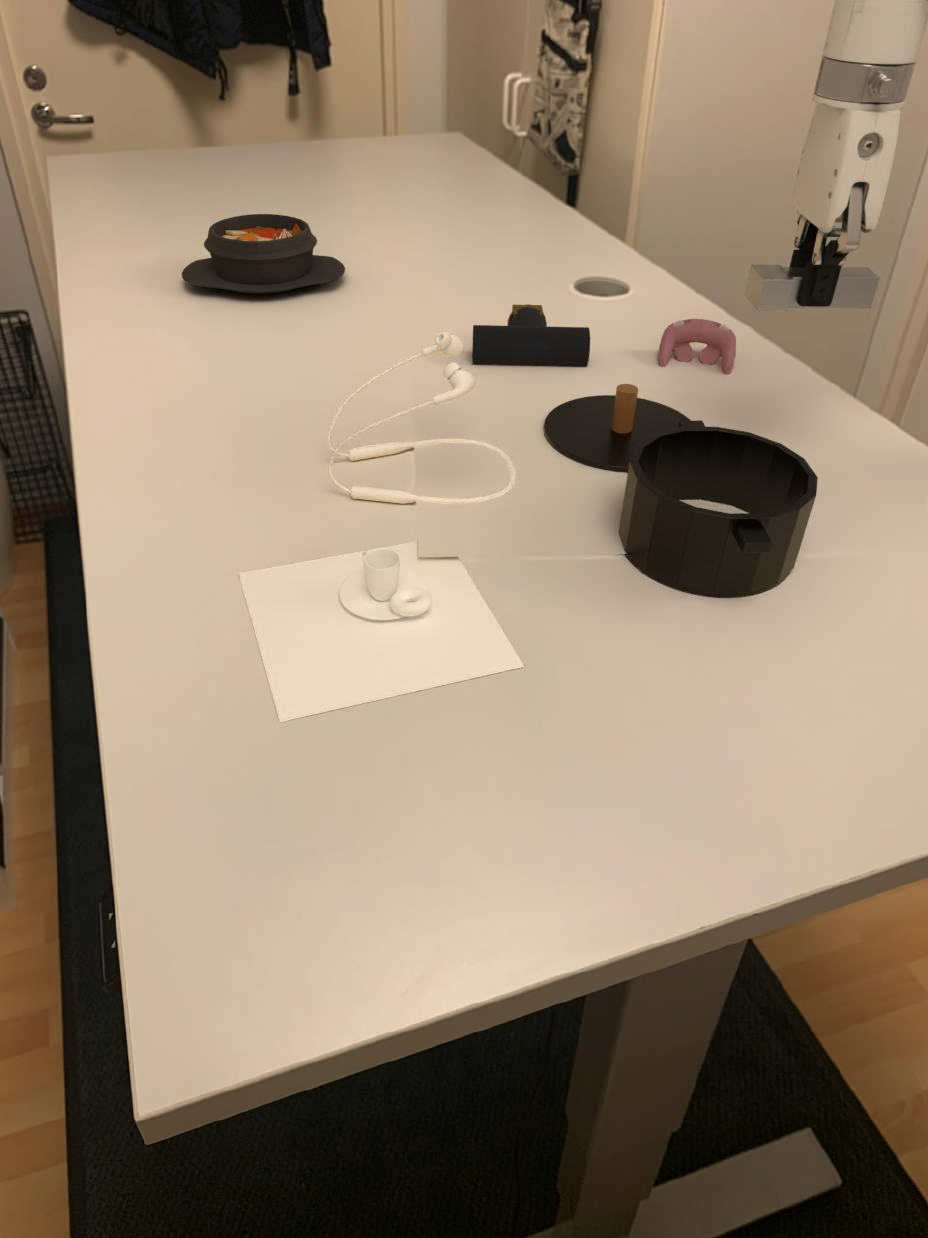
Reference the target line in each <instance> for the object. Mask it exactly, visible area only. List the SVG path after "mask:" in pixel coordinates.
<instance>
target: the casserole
mask: <svg viewBox="0 0 928 1238" xmlns="http://www.w3.org/2000/svg"><path fill="white" fill-rule="evenodd" d="M317 243H318V238H317V237H316V236H315V235H314V234H313V233H312V231H311V227H310V225H309V223H308V222H306V221H305V220H303V219H301V218H297V217H294V216H291V215H290V216H289V215H283V214H273V213H254V214H253V213H252V214H242V215H236V216H231V217H229V218H228V217H227V218H224V219H221V220H218V221H216V222H214V223H213V224H212V225H209V228H208V232H207V238H206V239H205V240H204V242H203V248H205V250H206V251H207V252H208V253H209V254H210V255H209V256H210V257H206V258H201V259H197V260H194V261H192V262H190V263H189V264H187V265H186V266H185V267H184V268H183V269H182V272H181V278H182V279H183V281H184V282H185V283H187V284H188V285H191V286H194V287H199V288H200V287H201V288H207V289H208V288H209V289H221V290H228V291H234V292H238V293H243V294H249V295H275V294H281V293H285V292H290V291H293V290H295V288H296V289H298V288H304V287H308V286H314V285H322V284H327V283H333V282H335V281H337V280H338V279H340V278H342V277H343V276H344V274H345V273H346V267H345V264H343V263H342V262H341V261H340V260H339V259H337V258H335V257H333V256H329V255H317V254H314V248H315V247H316V246H317ZM292 289H293V290H292ZM274 293H275V294H274Z"/></svg>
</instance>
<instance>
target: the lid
mask: <svg viewBox="0 0 928 1238" xmlns="http://www.w3.org/2000/svg"><path fill="white" fill-rule="evenodd" d="M638 394H639V387H638V386H636V385H634V384H632V383H621V384H618V385H617V386H616V389H615V395H614V394H613V395H612V394H610V395H609V394H600V395H598V394H597V395H589V396H584V397H578V398H574V399H570V400H568V401H565V402H563V403H561V404H559V405H557V406H556V407H554V408H553V409H551V411H549V412H548V413H547V415H546V417H545V419H544V423H543V433H544V437H545V439H546V441H547V442H548V443H549V444H550V446H552V448H554V449H555V450H556V451H557V452H559V454H561V455H563V456H565V457H566V458H568V459H571V460H572V461H574V462H577V463H580V464H582V465H585V466H588V467H592V468H596V469H600V470H606V471H612V472H621V473H628V469H629V462H630V459H631V457H632V454H633V452H634V449H635V447H636V445H637V444H639V443H640V442H642V441H644V440H645V439H647V438H648V437H650V436H651V435H653V434H655V433H657V432H662V431H666V430H670V429H675V428H678V425H679V421H692V419H690V418H689V417H688V416H686V415H685V414H684V413H682V412H680V411H679V410H676V409H674V408H672V407H670V406H668V405H666V404H663V403H661V402H657V401H653V400H650V399H645V398H640V397H638Z"/></svg>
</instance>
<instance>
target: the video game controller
mask: <svg viewBox="0 0 928 1238" xmlns="http://www.w3.org/2000/svg"><path fill="white" fill-rule="evenodd" d="M691 343H692V344H693V343H698V344H703V345H704V344H705V345H706V346H705V347H704V348H703V349H702V350H700V351H701V352H700V354H699V362H700V363H702V364H703V365H706V366H707V365H708V366H710V365H714V364H715V363H716V362H717V360H718V359H719V357H721V361H722V364H721V367H722V372H723V374H724V375H726V376H727V375H730V374H731V373H732V371H733V369H734V364H735V359H736V356H737V355H736V354H737V337H736V334H735V333H734V332H733V329H731V328H729V326H727V325H726V324H722V323H720V322H717V321H714V320H710V319H704V318H687V319H680V320H676V321H674V322H672V323H670V324H669V325H668V326H667V327H666V328H665V329H664V331H663V333H662V335H661V339H660V342H659V348H658V361H657V362H658V366H659V367H661V368H666V366H667V365H668V364H669V361H670V359H671V356H672V352H673V353H674V355H675V359H676V360H677V361H678V362H683V363H687V362H690V361H692V358H693V356H694V350H693V348H692V345H690V344H691Z"/></svg>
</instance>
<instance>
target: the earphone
mask: <svg viewBox="0 0 928 1238" xmlns="http://www.w3.org/2000/svg"><path fill="white" fill-rule="evenodd" d="M434 343H435V344H432V345H429V346H426V347H424V348H422V349H421V352H419V353H417V354H415V355H412V356H410V357H408V358H407V359H404V360H401V361H400V362H399V363H396V364H393V366H390V367H388V368H386V369H385V370H383V371H382V372H380V373H378V374H377V375H375V376H373V377H372V378H370V379H369V380H368V381H366V382H365V383H364V384H362V385H360V386H359V387H358V388H357V389H355V391H353V392H352V393H351V394H350V395H349V397H347V398H346V400H345V401H343V403H342V404H341V405H340V407H339V408H338V410H337V412H336V413H335V415H334V417H333V420H332V422H331V423H330V424H331V425H330V427H329V430H328V433H327V444H328V447H329V449H330V451H332V455H331V457H330V459H329V462H328V468H327V469H328V475H329V477H330V479H331V481H332V482H333V483H334V484H335V485H336V486H337V487H338V488H340V489H341V490H343V491H345V492H347V493H349V495H350V497H351V499H356V500H366V501H374V502H384V503H394V504H400V505H401V504H403V505H405V504H413V503H419V502H420V503H430V504H431V503H432V504H433V503H434V504H448V505H451V504H452V505H453V504H456V505H457V504H458V505H459V504H473V503H474V504H475V503H480V502H486V501H491V500H494V499H497V498H499V497H501V496H503V495H505V494H507V493H509V491H510V490H511V489H512V488H513V487H514V485H515V483H516V479H517V472H516V468H515V465H514V463H513V461H512V459H511V458H510V457H509V455H507V453H505V452H504V451H503V450H502V449H501V448H499V447H497V446H495V445H494V444H491V443H488V442H485V441H481V440H478V439H470V438H461V437H458V438H456V437H447V438H445V437H444V438H443V437H442V438H431V439H423V440H416V441H409V442H407V441H406V442H405V441H404V442H403V441H391V442H380V443H374V444H369V445H368V444H367V445H363V446H356V447H354V448H349V449H348V450H347V453H344V452H340V450H341V449H342V448H343V447H344V446H345V445H346V444H348V443H349V442H350V441H351V440H353V439H354V438H356V437H358V436H359V435H361V434H363V433H365V432H367V431H368V430H370V429H373V428H376V427H377V426H380V425H382V424H384V423H387V422H389V421H392V420H394V419H396V418H399V417H402V416H404V415H407V414H409V413H412V412H414V411H417V410H420V409H422V408H425V407H428V406H431V405H433V404H434V405H435V406H438V405H441V404H445V403H448V402H451V401H453V400H457V399H459V398H461V397H464V396H466V395H467V394H469V393H470V392H472V391H473V390H474V389H475V387H476V384H477V383H476V382H477V381H476V378H475V377H474V376H473V374H472V373H471V372H469V371H467V370H464V369H462V367H461V365H460V364H458V362H454V361H452V362H450V363H449V364H447V365H446V366H445V367H444V369H443V376H444V378H445V379H446V380H447V381H449V385H450V387H451V388H452V389H450V390H448V391H445V392H442V393H439V394H436V395H434V396H433V397H432V398H433V399H432V400H430V401H426V402H424V403H421V404H418V405H416V406H414V407H413V406H412V407H411V408H408V409H405V410H402V411H400V412H397V413H395V414H393V415H390V416H388V417H386V418H383V419H381V420H378V421H376V422H374V423H372V424H370V425H367V426H366V427H363V428H361V429H359V430H357V431H356V432H354V433H353V434H351V435H350V436H348V437H346V438H345V439H344V440H343V441H342V442H341V443H340V444H339V445H338V446H337V447H336V448H334V447H333V445H332V441H331V439H332V433H333V430H334V427H335V424H336V422H337V420H338V417H340V414H341V412H342V411H343V409H344V408H345V407H346V405H347V404H348V403H349V402H350V401H351V399H353V398H354V397H355V396H356V395H357V394H359V393H360V392H361V391H362V390H363V389H365V388H366V387H367V386H368V385H370V384H372V383H373V382H374V381H376V380H378V379H379V378H381V377H382V376H384V375H386V374H387V373H390V372H391V371H393V370H395V369H397V368H399V367H401V366H403V365H404V364H407V363H409V362H412V361H413V360H416V359H417V358H420V357H422V356H424V357H428V356H431V355H434V354H436V353H439V352H442V353H443V354H444V355H445V356H446V357H448V358H450V359H458V358H460V357H461V356H462V355H463V353H464V351H465V344H464V342H463V341H462V339H461V338H460V337H459V336H457V335H455V334H452V333H449V332H448V331H440V332H438V334H437V335H436V336H435V339H434ZM453 443H454V444H455V443H457V444H459V443H460V444H470V445H471V444H472V445H478V446H482V447H485V448H488V449H491V450H493V451H494V452H496V453H498V454H499V455H500V456H501V457H502V458H503V459H504V461H505V462H506V465H507V467H508V470H509V481H508V483H507V484H506V485H505V487H503V488H502V489H500V490H499V491H497V492H494V493H490V494H488V495H483V496H475V497H439V496H428V495H419V494H414V493H410V492H408V491H405V490H398V489H388V488H380V487H373V486H372V487H371V486H362V485H352V486H351V488H350V489H349V488H347V487H346V486H344V485H342V484H340V483H339V481H337V480H336V478H335V477H334V475H333V471H332V466H333V462H334V460H335V458H336V456H337V455H338V456H340V457H346V458H348V459H349V461H351V462H354V461H359V460H360V461H361V460H367V459H371V458H379V457H384V456H390V455H396V454H399V453H402V452H404V451H406V450H409V449H415V448H416V447H422V446H423V447H424V446H428V445H429V446H430V445H438V444H453Z"/></svg>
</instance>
